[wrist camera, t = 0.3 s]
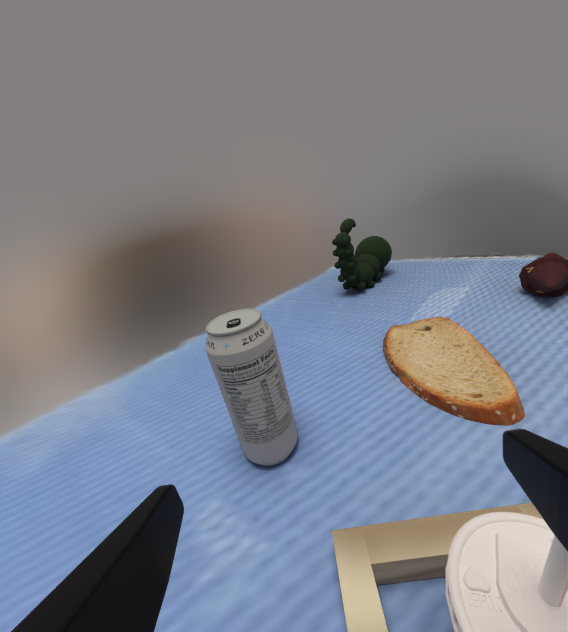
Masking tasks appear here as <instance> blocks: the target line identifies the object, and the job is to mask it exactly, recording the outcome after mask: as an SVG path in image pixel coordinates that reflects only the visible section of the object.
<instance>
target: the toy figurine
mask: <svg viewBox="0 0 568 632" xmlns="http://www.w3.org/2000/svg"><path fill="white" fill-rule="evenodd" d="M355 226H356V224H355V221H354V220H353V219H346V220H345V221H343V223H342V224H341V226H340V231H341V233H340V234H338V235H337V236H336V238H335V239H334V240H333V241H332V243H333V244H334V245H336V246H337V248H336V250H335V251H333V255H334V256H338V257H339V260H338V262H336V263H335V268H337V269H339V268H341V270H340V272H341V275H339V276H338V280H339V281H340V282H344V281H346V282H344V283H343V288H344V289H346V290H348V289H350V288H351V287H356V286H357V288H358V289H359V290H363V289H365V287H366V286H367V287H369V288H372V287H373V286H374V284H375V283H374V281H378V280H380V279H381V277H382V273H383V272H384V267H385V266H386V265H387V264H388V263H389V261H390V260H391V254H392V250H391V247H390V245H389V243H388V242H387V241H386V240H384V239H383V238H381V237H378V236H372V237H368V238H366V239H364V240H363V241H361V242H360V244H359V245H358V246H357V249H356V251H355V255H354V254H353V253H354V248H353V245H352V244H351V243H350V242H351V238H350V236H349V235H348V233H349V232H350V231H351V229H352V227H355ZM372 279H373V280H374V281H373V280H372Z"/></svg>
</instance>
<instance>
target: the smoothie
mask: <svg viewBox="0 0 568 632" xmlns="http://www.w3.org/2000/svg"><path fill="white" fill-rule="evenodd" d="M445 576H446V599H447V603H448V607H449V611H450V616H451V620H452V624H453V628H454V631H455V632H568V552H567V550H566V549H565V548H564V546H563V545H562V544H561V543H560V541H559V540H558V539H557V538H556V536H555V535H554V533H553V532H552V531H551V529H550V528H549V527H548V525H547V524H546V522H545V521H544V519H541V518H537V517H534V516H530V515H525V514H520V513H513V512H493V513H487V514H483V515H480V516H477V517H475V518H473V519H471V520H469V521H468V522H467V523H465V524H464V525H463V526H462V527H461V528H460V529H459V531H458V532H457V534H456V535H455V537H454V539H453V541H452V544H451V547H450V550H449V556H448V561H447V565H446V568H445Z"/></svg>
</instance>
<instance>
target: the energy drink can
mask: <svg viewBox="0 0 568 632" xmlns="http://www.w3.org/2000/svg"><path fill="white" fill-rule="evenodd" d="M206 331H207V333H208V336H207V340H206V345H205V350H206V352H207V355H208V358H209V361H210V363H211V366H212V369H213V371H214V374H215V377H216V379H217V382H218V385H219V387H220V390H221V393H222V396H223V398H224V401H225V404H226V406H227V409H228V412H229V414H230V417H231V420H232V422H233V425H234V428H235V430H236V433H237V436H238V439H239V441H240V444H241V447H242V449H243V452H244V454H245V456H246V457H247V458H248V459H249V460H250V461H252V462H254V463H257V464H260V465H263V466H271V465H276V464H278V463H280V462H282V461H284V460H285V459H286V458H287V457H288V456H289V455H290V454H291V452H292V450H293V448H294V447H295V445H296V442H297V439H298V432H297V427H296V423H295V419H294V415H293V411H292V407H291V403H290V399H289V395H288V391H287V387H286V383H285V379H284V376H283V372H282V368H281V364H280V360H279V356H278V352H277V348H276V344H275V340H274V336H273V332H272V328H271V327H270V325H269V324H268V323H267V322H266V321H265V320H264V319H263V318H262V317H261V313H260V311H258V310H256V309H241V310H236V311H232V312H229V313H226V314H223V315H221V316H219V317H217V318H215V319H213V320H212V321H211V322H209V324H208V325H207V327H206Z"/></svg>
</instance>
